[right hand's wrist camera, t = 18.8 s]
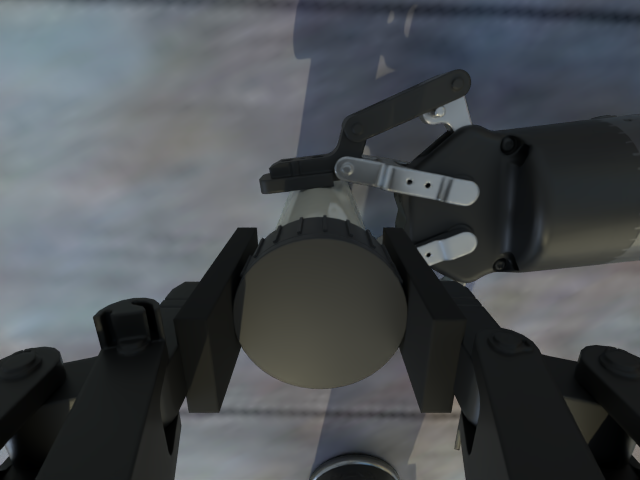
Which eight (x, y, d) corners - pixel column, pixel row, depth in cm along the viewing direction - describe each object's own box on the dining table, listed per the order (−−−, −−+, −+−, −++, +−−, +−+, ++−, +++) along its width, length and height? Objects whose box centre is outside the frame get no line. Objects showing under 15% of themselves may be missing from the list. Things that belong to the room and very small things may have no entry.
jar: (279, 200, 25) (226, 315, 11) (314, 152, 24) (305, 211, 10) (326, 234, 26) (332, 380, 12) (362, 189, 25) (417, 292, 11)
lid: (428, 272, 12) (448, 302, 10) (335, 372, 13) (337, 416, 11) (301, 181, 11) (297, 196, 9) (215, 302, 12) (196, 337, 10)
